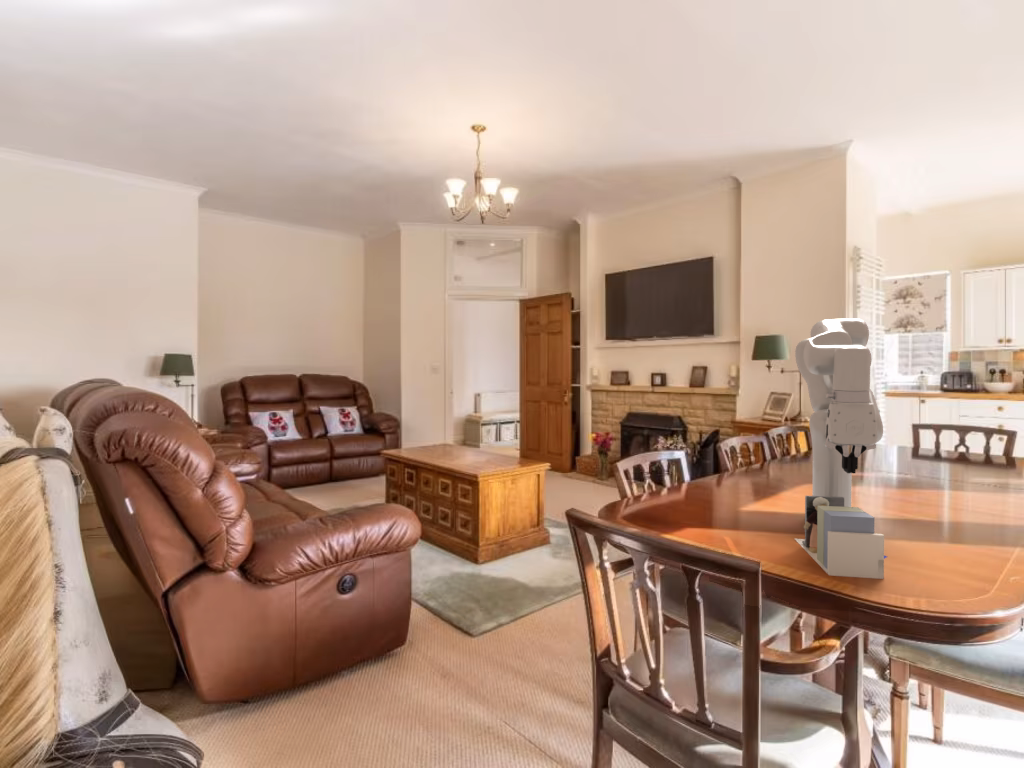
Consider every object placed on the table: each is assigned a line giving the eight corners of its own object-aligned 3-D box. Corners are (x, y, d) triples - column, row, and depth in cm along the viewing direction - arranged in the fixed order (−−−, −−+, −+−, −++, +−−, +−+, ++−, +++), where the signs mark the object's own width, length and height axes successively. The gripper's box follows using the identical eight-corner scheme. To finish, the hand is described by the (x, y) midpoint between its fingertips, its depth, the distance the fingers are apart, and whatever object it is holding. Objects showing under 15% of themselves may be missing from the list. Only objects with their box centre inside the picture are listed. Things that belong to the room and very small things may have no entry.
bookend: (802, 543, 130) (802, 493, 130) (838, 544, 129) (839, 494, 128) (806, 547, 127) (806, 496, 127) (843, 549, 126) (844, 497, 125)
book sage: (817, 559, 120) (817, 505, 120) (857, 561, 118) (857, 507, 118) (823, 565, 116) (823, 510, 116) (864, 568, 115) (865, 512, 114)
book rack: (794, 543, 134) (794, 503, 134) (838, 545, 132) (839, 505, 132) (829, 580, 111) (829, 532, 111) (883, 584, 109) (884, 535, 109)
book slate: (823, 566, 116) (824, 510, 116) (865, 568, 114) (866, 512, 114) (830, 573, 112) (831, 515, 112) (873, 575, 110) (874, 517, 110)
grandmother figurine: (814, 555, 122) (815, 500, 121) (800, 549, 126) (801, 496, 125) (840, 551, 125) (841, 497, 124) (825, 545, 128) (827, 493, 127)
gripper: (821, 399, 129) (820, 474, 131) (892, 399, 125) (891, 477, 127) (812, 396, 136) (811, 467, 138) (880, 395, 133) (878, 469, 134)
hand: (849, 471), depth 132 cm, fingers closed
